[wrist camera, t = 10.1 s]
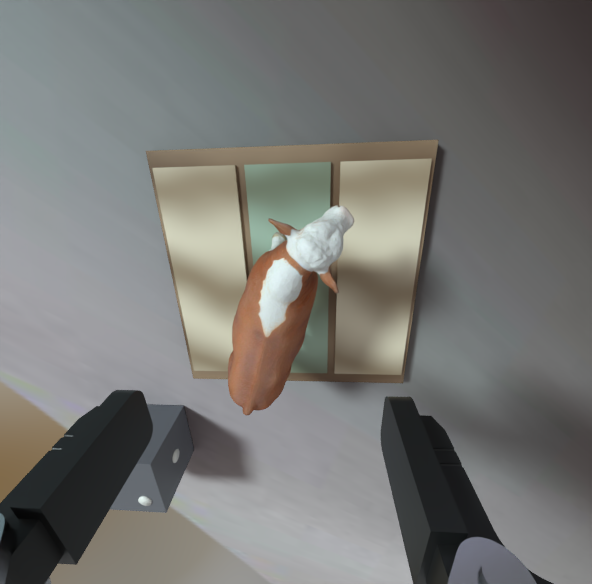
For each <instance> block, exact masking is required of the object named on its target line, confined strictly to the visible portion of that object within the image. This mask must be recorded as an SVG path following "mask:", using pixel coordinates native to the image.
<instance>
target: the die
mask: <svg viewBox="0 0 592 584" xmlns="http://www.w3.org/2000/svg"><path fill="white" fill-rule="evenodd" d="M147 407H148V410H149V413H150V416H151V419H152V423H153V433H152V437H151V440H150V442H149V444H148V446H147V447H146V449H145V451H144V452H143V454H142V456H141V457H140V459H139V461H138V462H137V464H136V466H135V467H134V469H133V471H132V472H131V474H130V476H129V477H128V479H127V481H126V483H125V484H124V486H123V488H122V489H121V491H120V493H119V494H118V496H117V498H116V499H115V501H114V503H113V504H112V506H111V508H110V509H115V510H132V511H149V512H165V513H166V512H167V510H168V508H169V505H170V503H171V501H172V498H173V496H174V494H175V492H176V489H177V487H178V485H179V483H180V480H181V478H182V476H183V474H184V471H185V469H186V467H187V464H188V462H189V460H190V458H191V455H192V453H193V451H194V447H193V443H192V439H191V435H190V430H189V426H188V422H187V418H186V413H185V409H184V406H177V405H147Z"/></svg>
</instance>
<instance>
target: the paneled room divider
mask: <svg viewBox="0 0 592 584" xmlns="http://www.w3.org/2000/svg"><path fill="white" fill-rule="evenodd" d="M437 147H438V140H420V141H394V142H368V143H342V144H316V145H289V146H263V147H237V148H211V149H185V150H158V151H146V154H147V159H148V164H149V168H150V173H151V178H152V183H153V188H154V192H155V197H156V202H157V207H158V211H159V216H160V221H161V226H162V230H163V235H164V240H165V245H166V250H167V254H168V259H169V264H170V269H171V273H172V278H173V283H174V288H175V293H176V297H177V302H178V307H179V312H180V316H181V321H182V326H183V331H184V335H185V340H186V345H187V350H188V355H189V359H190V364H191V369H192V374H193V378H197V379H228V362H229V357H230V354H231V353H232V351H233V344H232V325H233V321H234V317H235V315H236V311H237V307H238V304H239V301H240V299H241V297H242V295H243V293H244V291H245V287H246V283H247V280H248V276H249V274H250V271H251V269H252V267H253V266H254V264H255V263H256V261H257V260H258V259H259V257H260V256H261V255H263V254H264V253H265V252H267V251H269V250H270V249H271V246H272V236H273V235H274V233H276V232H279V231H278V230H277V228H276V227H275V226H274V225H273V224H271V223H270V222H269V221H268V219H269V218H270V219H273V220H276V221H278V222H281V223H285V224H288V225H291V226H292V227H294V228H295V229H297V230H300V229H302V228H304V227H305V226H306V225H307V224H309V223H312V222H313V221H315V220H317V219H319V218H321V217H322V216H323V215H324V213H325V212H326V211H327V210H329V209H330V208H332V207H334V206H336V205H338V206H344V207H346V208H347V209H348V210H349V211H350V213H351V214H352V216H353V218H354V224H353V226H352V227H351V228H350V229H348V230H347V231H346V232H345V234H344V236H343V251H342V253H341V255H340V257H339V258H338V259H337V260H336V261H335V262H333V263H332V264H331V265H330V271H331V274H332V276H333V278H334V280H335V282H336V285H337V287H338V290H339V293H338V294H337V293H335V292H334V291H333V290H332V289H331V288H330V287H329V286H327V285H326V284H325V283H324V282H323V281H322V280H321V278H320V275H319V274H318V273H317V275H318V286H317V292H316V296H315V300H314V304H313V307H312V310H311V314H310V318H309V321H308V324H307V328H306V333H305V338H304V342H303V344H302V347H301V349H300V350H299V352H298V354H297V355H296V357H295V359H294V361H293V363H292V366H291V372H290V374H289V377H288V379H287V380H286V381H330V382H375V383H403V379H404V372H405V365H406V358H407V352H408V345H409V338H410V331H411V324H412V317H413V311H414V304H415V297H416V290H417V283H418V276H419V270H420V263H421V256H422V249H423V242H424V235H425V229H426V222H427V215H428V208H429V201H430V194H431V188H432V181H433V174H434V167H435V160H436V153H437ZM286 240H287V238H286Z"/></svg>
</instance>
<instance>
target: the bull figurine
mask: <svg viewBox="0 0 592 584" xmlns="http://www.w3.org/2000/svg"><path fill="white" fill-rule="evenodd" d="M268 221H269V222H270V223H271V224H273V225H274V226H275V227H276V228H277V230H278V231H279V232H276V233H274V235H273V236H272V246H271V249H270V250H269V251H267V252H265V253H264V254H263V255H261V256H260V257H259V259H258V260H257V261H256V263H255V264H254V266H253V267H252V269H251V271H250V274H249V276H248V280H247V283H246V287H245V291H244V293H243V295H242V297H241V299H240V301H239V304H238V307H237V311H236V315H235V317H234V321H233V325H232V344H233V351H232V353H231V354H230V357H229V362H228V386H229V392H230V396H231V398H232V399H233V401H234V402H235V403H236V404H238V405H239V406H241V407H243V413H244V414H245V415H250V414H251V413H252V411H253V410H263V409H266V408H268V407H269V406H270V405H271V404H272V403H273V401H274V400H275V399H276V398H277V397H278V396H279V395H280V394H281V392H282V390H283V388H284V385H285V382H286V380H287V379H288V377H289V374H290V372H291V366H292V363H293V361H294V359H295V357H296V355H297V354H298V352H299V350H300V349H301V347H302V344H303V342H304V338H305V333H306V328H307V324H308V321H309V318H310V314H311V310H312V307H313V304H314V300H315V296H316V292H317V286H318V275H317V273H318V274H319V275H320V278H321V280H322V281H323V282H324V283H325V284H326V285H327V286H329V287H330V288H331V289H332V290H333V291H334V292H335V293H337V294H338V293H339V290H338V287H337V285H336V282H335V280H334V278H333V276H332V274H331V271H330V265H331V264H332V263H333V262H335V261H336V260H337V259H338V258H339V257H340V255H341V253H342V251H343V236H344V234H345V232H346V231H347V230H348V229H350V228H351V227H352V226H353V224H354V218H353V216H352V214H351V213H350V211H349V210H348V209H347V208H346V207H344V206H338V205H336V206H334V207H332V208H330V209H329V210H327V211H326V212H325V213H324V215H323V216H322V217H321V218H319V219H317V220H315V221H313V222H312V223H309V224H307V225H306V226H305V227H304V228H302V229H300V230H297V229H295V228H294V227H292V226H291V225H288V224H285V223H281V222H278V221H276V220H273V219H270V218H269V219H268ZM286 238H287V240H286Z"/></svg>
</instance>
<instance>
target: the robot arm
mask: <svg viewBox="0 0 592 584" xmlns="http://www.w3.org/2000/svg"><path fill="white" fill-rule="evenodd" d="M152 433H153V423H152V419H151V416H150V413H149V410H148V407H147V404H146V401H145V398H144V395H143V393H142V392H141V391H136V390H116V391H114V392H112V393H111V394H110V395H109V396H108V397H107V399H106V400H105V401H104V402H103V403H102V404H101V405H100V406H96V407H95V408H94V409H92V410H91V411H89V412H88V413H87V414H85V415H84V416H82V417H81V418H79V419H78V420H77V421H76V422H75V424H74V425H73V426H72V427H71V428H70V429H69V430H68V431H67V432H66V433H65V434H64V437H63V438H61V439H60V440H59V441H58V442H57V443H56V444H55V445H54V446H53V447H52V450H51V451H48V452H47V454H46V455H45V456H44V457H43V458H42V459H41V460H40V461H39V462H38V463H37V464H36V465H35V467H34V468H33V469H32V470H31V471H30V472H29V473H28V474H27V475H26V476H25V477H24V478H23V479H22V480H21V481H20V483H19V484H18V485H17V486H16V487H15V488H14V489H13V490H12V491H11V492H10V493H9V494H8V495H7V497H6V498H5V499H4V500H3V501H2V502H1V503H0V584H51V580H50V577H49V576H50V575H51V573H52V571H53V570H54V569H55V567H56V566H57V564H58V563H60V564H75V565H76V564H77V563H78V561H79V559H80V558H81V556H82V554H83V553H84V551H85V549H86V548H87V546H88V544H89V543H90V541H91V539H92V538H93V536H94V534H95V533H96V531H97V529H98V528H99V526H100V524H101V523H102V521H103V519H104V517H105V516H106V514H107V512H108V511H109V509H110V508H111V506H112V504H113V503H114V501H115V499H116V498H117V496H118V494H119V493H120V491H121V489H122V488H123V486H124V484H125V483H126V481H127V479H128V477H129V476H130V474H131V472H132V471H133V469H134V467H135V466H136V464H137V462H138V461H139V459H140V457H141V456H142V454H143V452H144V451H145V449H146V447H147V446H148V444H149V442H150V440H151V437H152ZM381 446H382V452H383V456H384V460H385V465H386V469H387V473H388V478H389V482H390V486H391V490H392V495H393V499H394V503H395V507H396V512H397V516H398V520H399V524H400V529H401V533H402V537H403V542H404V546H405V550H406V554H407V559H408V563H409V567H410V571H411V576H412V580H413V584H553V583H551V582H549V581H547V580H544V579H542V578H541V577H539V576H537V575H536V574H534V573H532V572H531V571H530V570H528V569H527V568H526V567H525V565H524V564H523V563H522V562H521V561H520V560H519V559H518V558H517V557H516V556H515V555H514V554H513V553H511V552H510V551H509V550H508V549H506V548H505V546H504V545H503V544H502V542H501V541H500V540H499V538H498V536H497V535H496V533H495V531H494V529H493V527H492V525H491V523H490V521H489V519H488V517H487V515H486V513H485V511H484V509H483V507H482V505H481V503H480V501H479V498H478V496H477V494H476V492H475V490H474V488H473V486H472V484H471V482H470V480H469V478H468V476H467V474H466V472H465V470H464V468H462V466H461V462H460V460H459V458H458V456H457V454H456V452H454V447H453V445H452V443H451V441H450V439H449V437H448V435H447V433H446V431H445V430H444V429H443V428H442V427H441V426H440V425H439V424H438V423H437V422H436V420H435V419H434V418H433V417H432V416H420V415H419V413H418V411H417V408H416V406H415V403H414V401H413V399H412V398H411V397H386V398H385V402H384V410H383V418H382V426H381Z"/></svg>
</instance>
